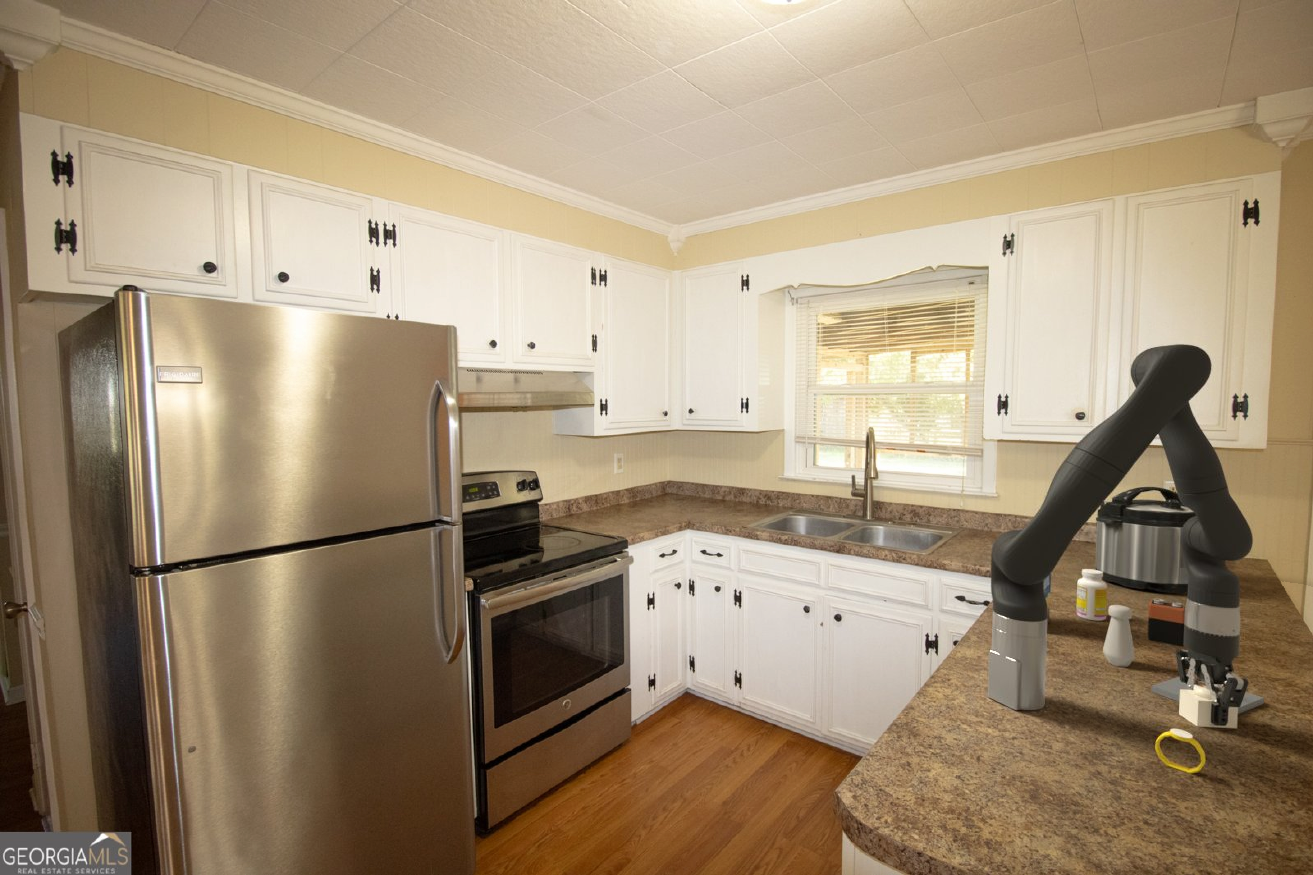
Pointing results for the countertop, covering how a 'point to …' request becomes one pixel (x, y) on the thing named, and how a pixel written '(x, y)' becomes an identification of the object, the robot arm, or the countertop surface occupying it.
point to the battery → (1166, 622)
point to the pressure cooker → (1143, 541)
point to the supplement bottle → (1092, 595)
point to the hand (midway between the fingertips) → (1207, 717)
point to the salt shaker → (1119, 637)
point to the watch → (1181, 736)
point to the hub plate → (1177, 685)
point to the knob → (1202, 707)
